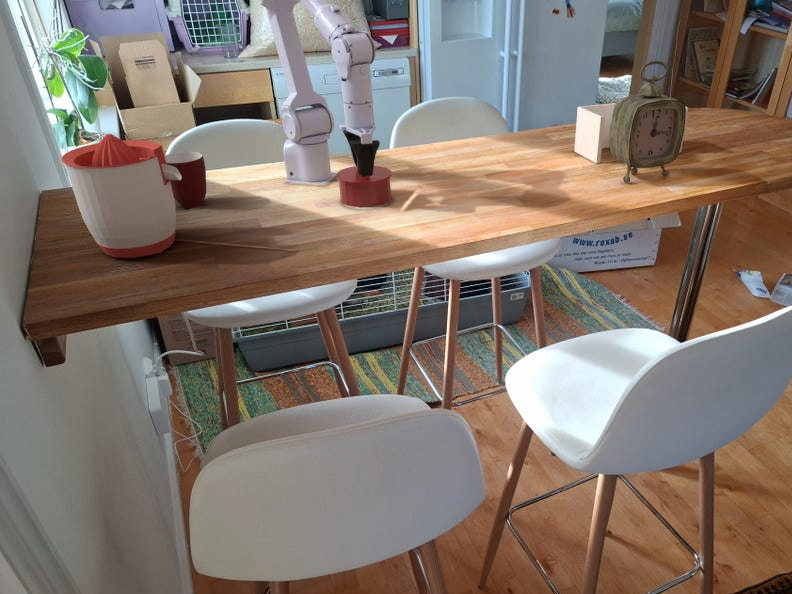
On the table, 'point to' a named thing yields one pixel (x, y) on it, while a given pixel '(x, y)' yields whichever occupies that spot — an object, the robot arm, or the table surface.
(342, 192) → the tin
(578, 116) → the storage container
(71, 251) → the table surface
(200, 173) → the mug
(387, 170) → the tin lid
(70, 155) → the citrus juicer
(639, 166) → the tabletop clock
